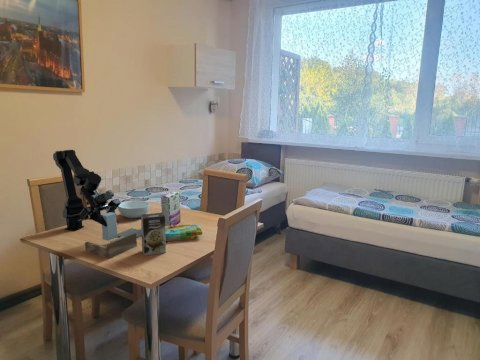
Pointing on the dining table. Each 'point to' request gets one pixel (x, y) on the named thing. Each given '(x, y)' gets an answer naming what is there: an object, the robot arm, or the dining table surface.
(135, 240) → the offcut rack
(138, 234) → the rubber mat
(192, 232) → the puzzle game
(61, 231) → the dining table surface
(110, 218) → the tall block
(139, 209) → the cereal bowl
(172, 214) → the candy bar box
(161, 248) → the coffee box
